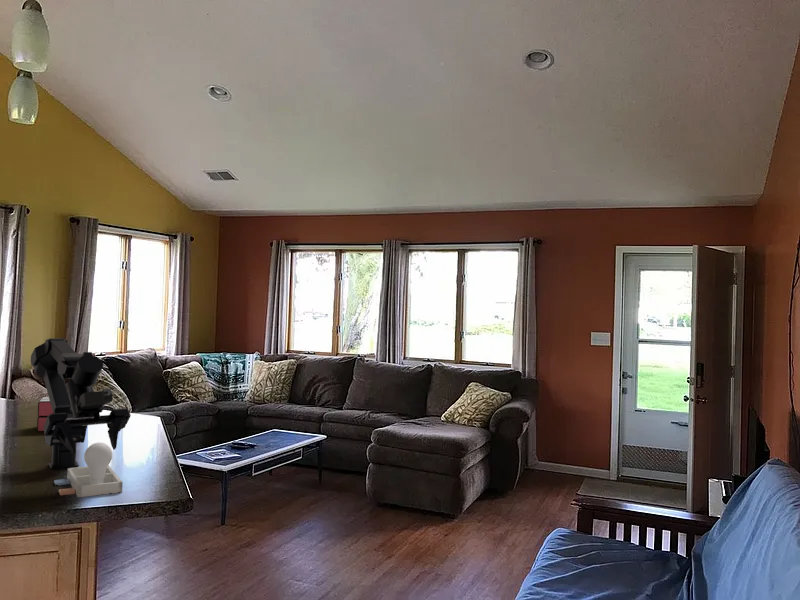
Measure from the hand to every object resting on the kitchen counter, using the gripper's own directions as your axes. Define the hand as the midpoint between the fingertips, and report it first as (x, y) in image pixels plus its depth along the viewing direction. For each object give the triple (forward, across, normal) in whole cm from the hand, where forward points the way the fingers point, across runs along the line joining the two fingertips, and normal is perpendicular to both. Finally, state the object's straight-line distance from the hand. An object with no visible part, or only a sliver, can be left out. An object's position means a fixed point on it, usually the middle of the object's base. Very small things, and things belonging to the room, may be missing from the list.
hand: (95, 450), depth 158 cm
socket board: (+5, -1, +8) cm, 9 cm away
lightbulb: (+8, 0, +5) cm, 9 cm away
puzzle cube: (-47, +12, +61) cm, 78 cm away
